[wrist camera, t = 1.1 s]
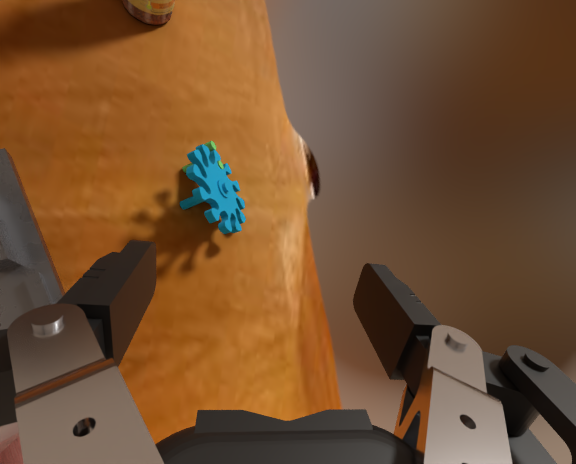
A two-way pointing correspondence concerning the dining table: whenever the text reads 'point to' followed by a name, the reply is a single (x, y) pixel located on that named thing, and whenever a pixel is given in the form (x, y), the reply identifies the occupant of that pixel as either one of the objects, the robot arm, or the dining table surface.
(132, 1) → the sauce bottle
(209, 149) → the gear
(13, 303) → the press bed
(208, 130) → the dining table surface
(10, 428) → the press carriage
